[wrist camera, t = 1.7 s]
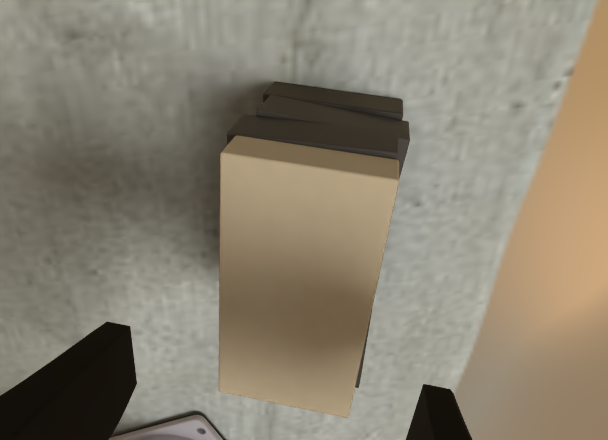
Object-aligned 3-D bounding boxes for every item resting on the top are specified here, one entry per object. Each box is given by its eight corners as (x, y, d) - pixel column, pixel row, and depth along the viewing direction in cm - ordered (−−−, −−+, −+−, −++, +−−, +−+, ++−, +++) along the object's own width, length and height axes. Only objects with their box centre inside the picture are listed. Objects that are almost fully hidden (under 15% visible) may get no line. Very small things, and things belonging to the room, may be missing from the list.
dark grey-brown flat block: (361, 353, 19) (358, 388, 18) (244, 333, 20) (231, 366, 18) (398, 130, 15) (398, 152, 13) (244, 113, 15) (226, 132, 14)
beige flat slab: (351, 387, 18) (348, 419, 16) (229, 362, 18) (217, 392, 17) (399, 159, 13) (399, 180, 12) (235, 134, 14) (219, 152, 12)
